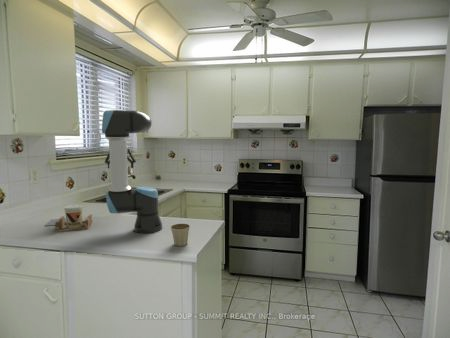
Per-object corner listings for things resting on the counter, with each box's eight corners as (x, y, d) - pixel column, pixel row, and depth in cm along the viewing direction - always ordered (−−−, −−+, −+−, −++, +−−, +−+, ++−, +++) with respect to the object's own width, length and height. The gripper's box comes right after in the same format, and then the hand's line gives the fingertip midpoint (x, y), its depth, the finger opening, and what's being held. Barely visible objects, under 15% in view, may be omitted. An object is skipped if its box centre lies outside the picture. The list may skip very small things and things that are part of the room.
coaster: (68, 224, 174) (68, 223, 174) (44, 226, 171) (44, 225, 171) (74, 218, 187) (74, 217, 187) (51, 220, 183) (51, 219, 183)
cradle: (88, 229, 165) (87, 220, 164) (55, 232, 161) (54, 223, 160) (92, 221, 179) (92, 213, 179) (62, 224, 175) (62, 216, 175)
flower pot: (179, 249, 135) (178, 230, 134) (166, 244, 141) (166, 226, 140) (194, 243, 142) (194, 226, 141) (181, 239, 148) (181, 222, 147)
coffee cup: (65, 230, 164) (63, 209, 162) (66, 225, 172) (65, 205, 171) (83, 228, 168) (82, 207, 166) (84, 223, 176) (82, 203, 175)
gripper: (139, 141, 202) (140, 172, 205) (102, 142, 201) (104, 172, 204) (136, 141, 195) (138, 173, 197) (98, 142, 194) (100, 174, 196)
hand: (121, 173), depth 200 cm, fingers open, 13 cm apart
